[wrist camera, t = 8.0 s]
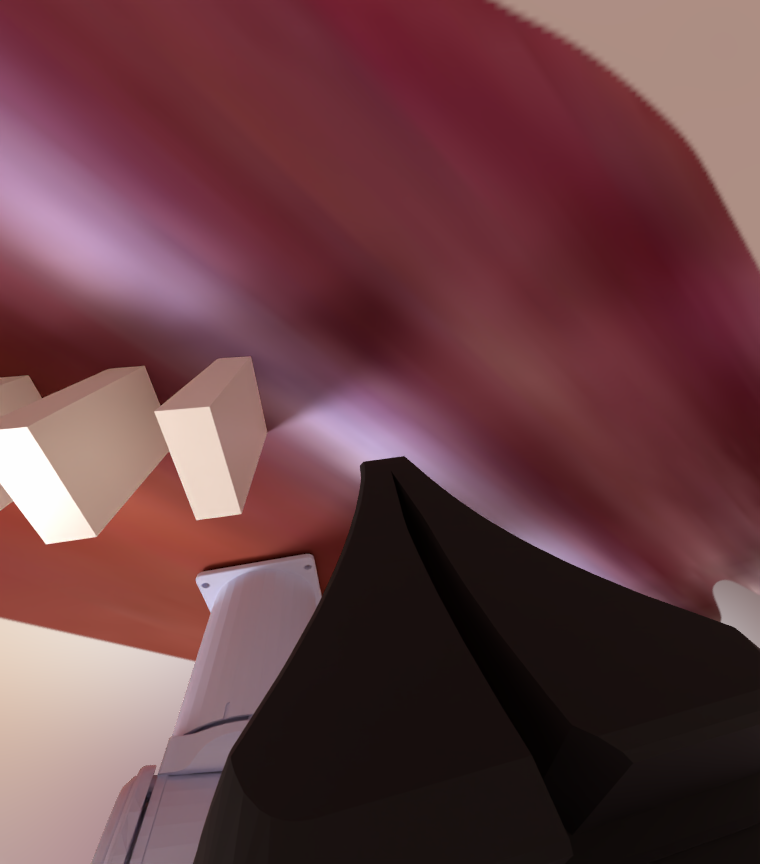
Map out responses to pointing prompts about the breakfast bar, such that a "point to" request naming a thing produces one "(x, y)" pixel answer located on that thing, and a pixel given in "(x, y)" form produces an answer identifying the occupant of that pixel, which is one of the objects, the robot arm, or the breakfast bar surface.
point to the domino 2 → (216, 436)
